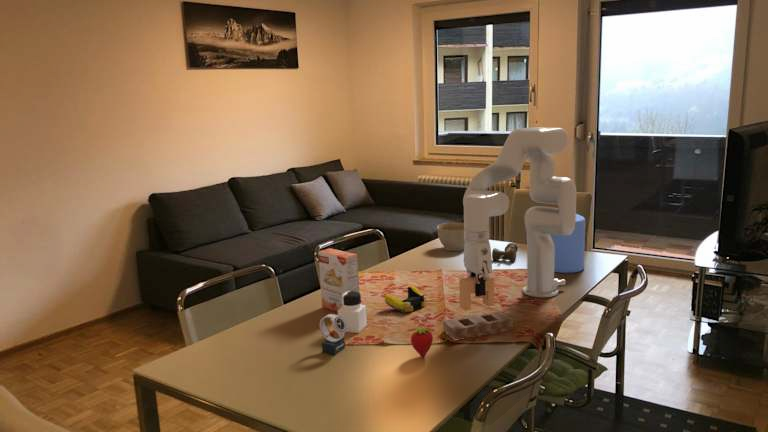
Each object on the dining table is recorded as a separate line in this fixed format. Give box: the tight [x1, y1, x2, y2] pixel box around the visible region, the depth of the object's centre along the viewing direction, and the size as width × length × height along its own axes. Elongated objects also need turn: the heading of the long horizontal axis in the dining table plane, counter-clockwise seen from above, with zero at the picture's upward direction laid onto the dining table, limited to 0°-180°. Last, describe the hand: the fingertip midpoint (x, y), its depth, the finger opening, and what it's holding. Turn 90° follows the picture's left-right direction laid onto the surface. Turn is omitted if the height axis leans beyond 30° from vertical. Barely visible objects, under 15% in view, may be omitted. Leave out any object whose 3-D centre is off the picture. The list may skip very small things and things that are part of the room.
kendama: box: [491, 242, 519, 264], centre depth 269 cm, size 6×10×20 cm
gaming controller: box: [384, 285, 427, 313], centre depth 216 cm, size 15×6×10 cm
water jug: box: [550, 213, 586, 274], centre depth 249 cm, size 16×16×28 cm
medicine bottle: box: [337, 291, 368, 334], centre depth 198 cm, size 7×7×12 cm
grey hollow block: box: [442, 310, 514, 339], centre depth 192 cm, size 20×8×4 cm, turn 109°
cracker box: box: [317, 247, 360, 313], centre depth 214 cm, size 14×6×21 cm, turn 47°
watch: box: [319, 313, 347, 356], centre depth 182 cm, size 6×8×11 cm
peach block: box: [458, 274, 495, 311], centre depth 190 cm, size 10×4×9 cm, turn 110°
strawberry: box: [410, 322, 433, 358], centre depth 175 cm, size 6×8×10 cm
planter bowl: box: [436, 222, 465, 252], centre depth 287 cm, size 16×16×11 cm
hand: (477, 293), depth 190 cm, fingers closed on peach block, 3 cm apart
